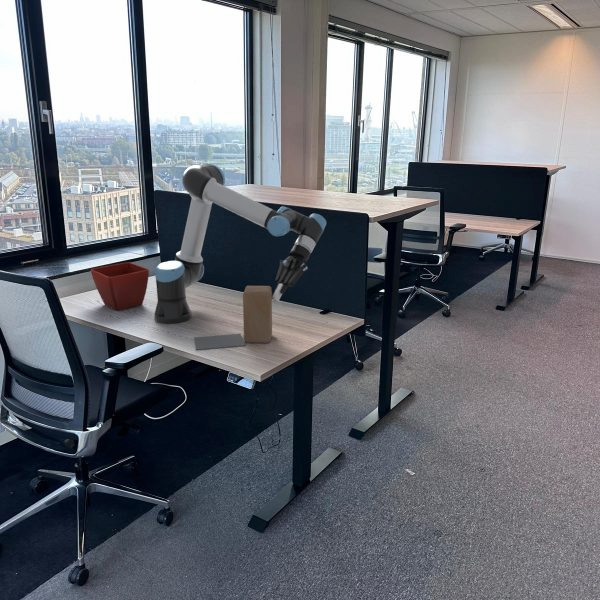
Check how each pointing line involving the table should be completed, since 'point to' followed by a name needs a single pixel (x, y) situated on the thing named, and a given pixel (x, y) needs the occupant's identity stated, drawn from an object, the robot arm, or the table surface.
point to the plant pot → (121, 284)
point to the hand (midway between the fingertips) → (274, 299)
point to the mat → (218, 341)
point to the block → (257, 314)
